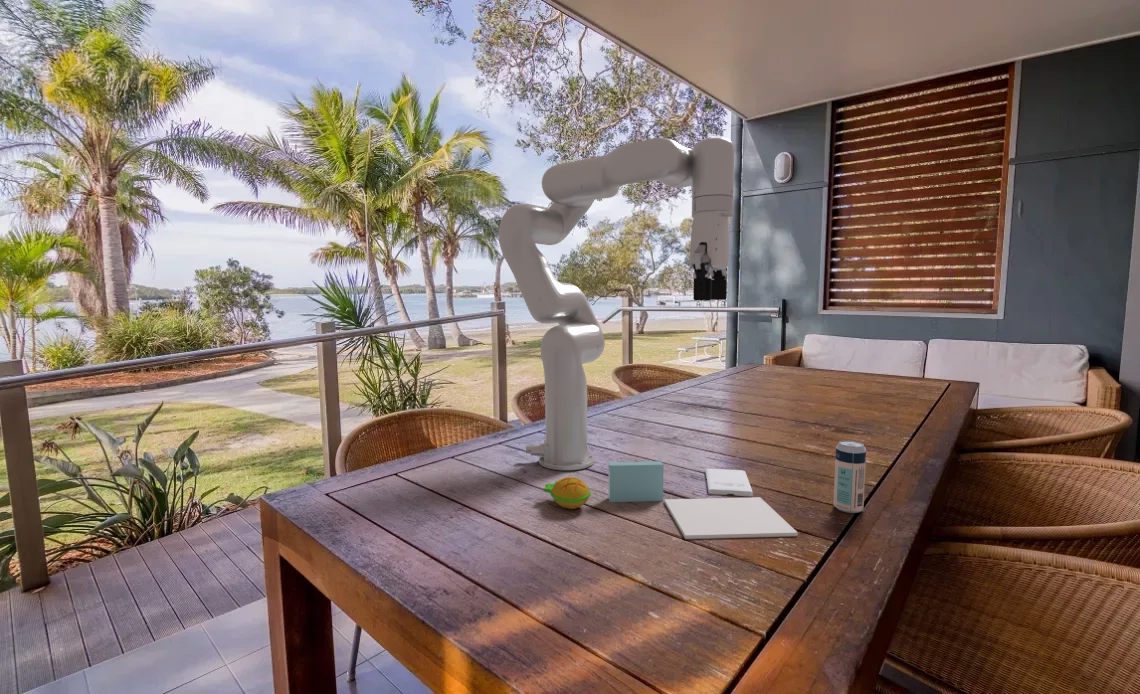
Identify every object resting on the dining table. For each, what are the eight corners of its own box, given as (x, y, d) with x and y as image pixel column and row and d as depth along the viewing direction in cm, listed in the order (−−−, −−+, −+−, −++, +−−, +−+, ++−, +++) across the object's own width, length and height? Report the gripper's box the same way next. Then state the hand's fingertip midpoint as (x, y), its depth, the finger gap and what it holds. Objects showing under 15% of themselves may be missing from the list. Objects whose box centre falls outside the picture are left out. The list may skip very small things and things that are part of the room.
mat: (685, 539, 85) (685, 535, 85) (664, 502, 100) (664, 499, 100) (797, 536, 86) (797, 532, 86) (759, 500, 101) (759, 497, 101)
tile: (609, 502, 100) (609, 465, 100) (608, 498, 102) (608, 462, 102) (663, 501, 101) (663, 464, 100) (660, 497, 103) (661, 461, 102)
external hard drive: (745, 477, 115) (752, 499, 103) (705, 475, 117) (708, 496, 104) (745, 470, 115) (753, 491, 103) (705, 468, 116) (708, 488, 104)
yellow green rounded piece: (568, 518, 93) (568, 488, 92) (536, 501, 101) (535, 473, 100) (598, 509, 97) (599, 480, 97) (565, 493, 105) (565, 466, 105)
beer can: (860, 505, 98) (863, 441, 97) (865, 516, 93) (869, 448, 92) (831, 502, 100) (834, 438, 98) (835, 512, 95) (837, 445, 94)
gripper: (707, 215, 111) (705, 299, 113) (676, 204, 96) (675, 300, 98) (744, 212, 107) (742, 299, 109) (718, 200, 92) (716, 300, 94)
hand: (710, 300), depth 103 cm, fingers open, 9 cm apart
